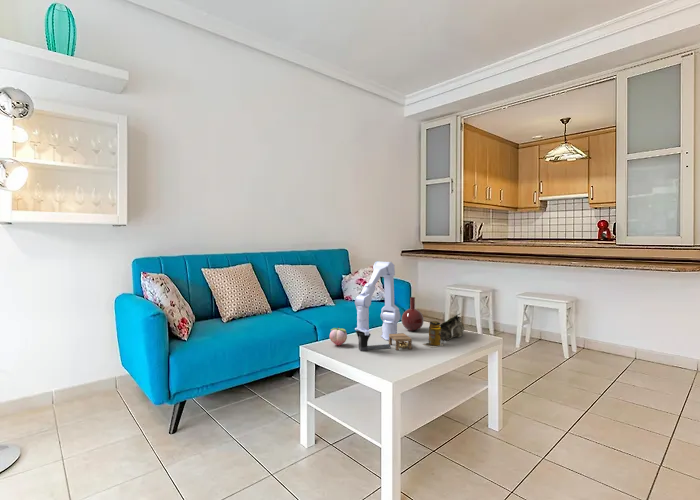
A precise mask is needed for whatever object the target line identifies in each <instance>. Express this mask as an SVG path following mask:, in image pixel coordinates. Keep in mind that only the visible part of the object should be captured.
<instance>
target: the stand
mask: <svg viewBox="0 0 700 500" xmlns="http://www.w3.org/2000/svg"><path fill="white" fill-rule="evenodd" d="M392 339H393V340H392ZM412 339H413V338H412V337H411V336H409V335H407V334H406V333H404V332H400V333H398V332H397V334H389V340H388V344H391V346H392V345H393V341H395V351H399V350H400V348H399V342H408V348H407V349H408V350H412V343H413V342H412Z"/></svg>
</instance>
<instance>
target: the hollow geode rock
mask: <svg viewBox="0 0 700 500" xmlns="http://www.w3.org/2000/svg"><path fill="white" fill-rule="evenodd" d="M459 315H461V313H458V314H455V315H454V316H452V317H450V318H449V319H448V320H446V321H444V322H442V323H440V328H441V340H442V341H443V342H448V341H449V340H450V339H452V338H454V337H456V338H457V337H458V338H459V337H461V336H463V333H464V331H465V328H466V327H465V325H464V324H463V323H462V317H461V316H459Z"/></svg>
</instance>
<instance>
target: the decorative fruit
mask: <svg viewBox="0 0 700 500" xmlns="http://www.w3.org/2000/svg"><path fill="white" fill-rule="evenodd" d="M347 339H348V333H347V330H346V329H345V328H340V327H339V326H338V327H333V328H331V329H330V333H329V340H330V341H331V342H332V343H333V344H334V345H336V346H342V345H343V344H345V342H347Z"/></svg>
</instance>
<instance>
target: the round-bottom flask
mask: <svg viewBox="0 0 700 500" xmlns="http://www.w3.org/2000/svg"><path fill="white" fill-rule="evenodd" d="M409 298H410V299H409V300H410V303H409V304H410V305H409V306H410V307H409V308H408V309H406V310H405V311H404V312H403V313H402V315H401V324H402V326H403V327H404V328H405V329H406V330H407V331H410V332H416V331H418V330H420V329H421V328H422V327H423V325H424V322H425V321H424V320H425V319H424V316H423V314H422V312H421V311H420V310H418V309H417V308H416V302H415V300H416V297H414V296H413V297H412V296H411V297H409Z"/></svg>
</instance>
